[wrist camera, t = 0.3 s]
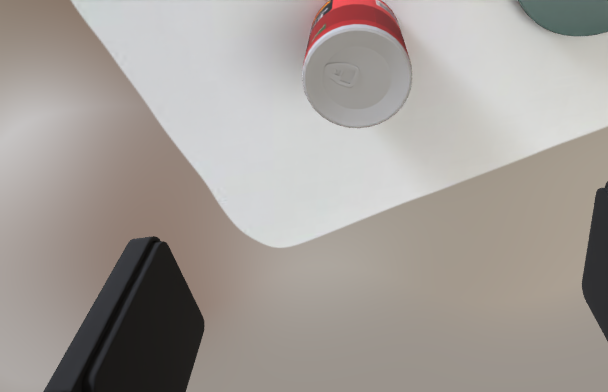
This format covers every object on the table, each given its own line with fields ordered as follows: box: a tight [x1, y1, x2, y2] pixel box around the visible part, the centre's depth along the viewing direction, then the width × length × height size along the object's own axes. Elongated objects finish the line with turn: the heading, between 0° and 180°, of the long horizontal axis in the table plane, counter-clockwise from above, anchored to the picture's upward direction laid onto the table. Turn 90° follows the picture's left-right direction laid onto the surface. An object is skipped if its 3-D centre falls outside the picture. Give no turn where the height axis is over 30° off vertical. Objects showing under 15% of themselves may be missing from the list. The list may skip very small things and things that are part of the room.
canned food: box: [302, 0, 412, 128], centre depth 39 cm, size 8×8×11 cm
